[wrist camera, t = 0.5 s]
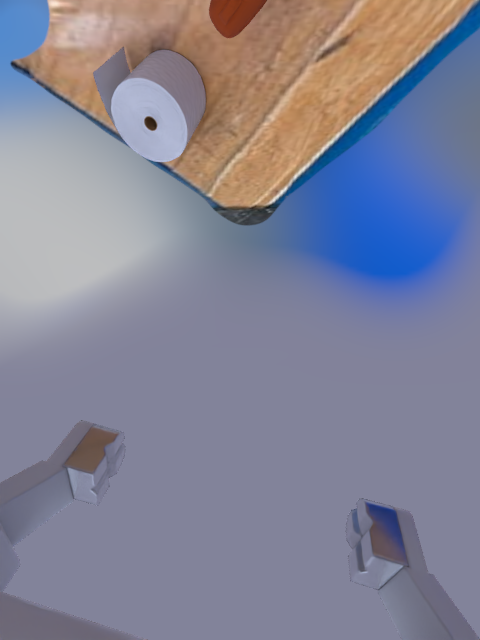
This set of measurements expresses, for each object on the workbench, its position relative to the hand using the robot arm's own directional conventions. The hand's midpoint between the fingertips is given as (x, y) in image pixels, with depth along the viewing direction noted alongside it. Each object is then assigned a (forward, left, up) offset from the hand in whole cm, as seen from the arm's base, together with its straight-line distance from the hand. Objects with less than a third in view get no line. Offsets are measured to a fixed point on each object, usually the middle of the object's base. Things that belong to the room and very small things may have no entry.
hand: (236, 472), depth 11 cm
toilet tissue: (-1, -23, -51) cm, 56 cm away
